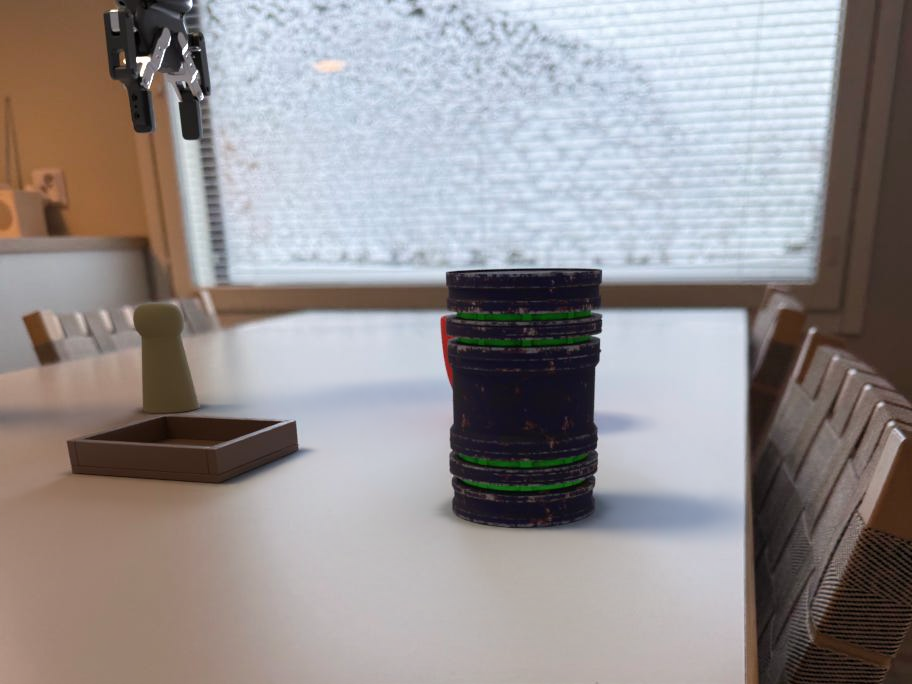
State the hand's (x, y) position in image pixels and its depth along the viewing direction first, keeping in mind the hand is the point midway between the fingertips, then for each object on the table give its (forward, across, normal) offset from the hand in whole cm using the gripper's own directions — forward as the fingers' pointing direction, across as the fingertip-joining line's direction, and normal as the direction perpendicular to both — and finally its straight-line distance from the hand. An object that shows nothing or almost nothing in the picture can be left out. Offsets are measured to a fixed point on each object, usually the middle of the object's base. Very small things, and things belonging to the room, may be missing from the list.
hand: (170, 136), depth 101 cm
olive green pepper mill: (+28, +7, +1) cm, 28 cm away
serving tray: (+27, +30, +18) cm, 45 cm away
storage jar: (+28, +38, +50) cm, 68 cm away
